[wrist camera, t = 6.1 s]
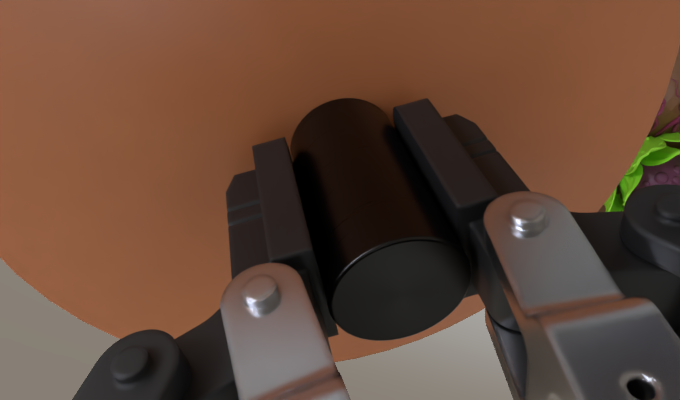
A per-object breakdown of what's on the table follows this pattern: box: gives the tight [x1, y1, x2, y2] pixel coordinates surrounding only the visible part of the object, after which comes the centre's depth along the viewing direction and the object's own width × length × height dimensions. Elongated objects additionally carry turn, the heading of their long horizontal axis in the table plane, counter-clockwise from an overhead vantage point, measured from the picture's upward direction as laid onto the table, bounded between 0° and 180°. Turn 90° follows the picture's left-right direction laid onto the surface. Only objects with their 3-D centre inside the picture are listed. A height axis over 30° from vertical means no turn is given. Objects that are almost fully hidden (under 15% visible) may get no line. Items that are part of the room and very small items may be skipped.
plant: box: [598, 45, 680, 212], centre depth 35 cm, size 20×20×11 cm
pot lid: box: [0, 0, 680, 362], centre depth 11 cm, size 16×16×6 cm
